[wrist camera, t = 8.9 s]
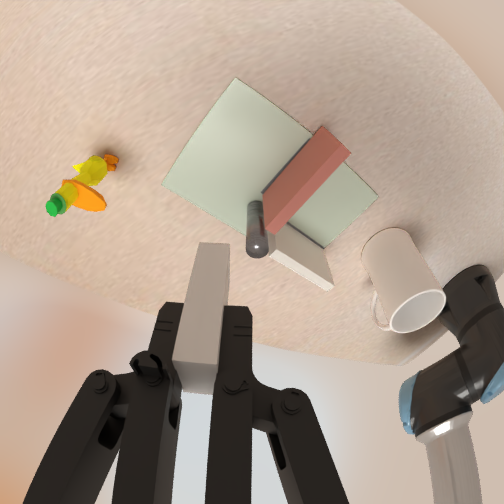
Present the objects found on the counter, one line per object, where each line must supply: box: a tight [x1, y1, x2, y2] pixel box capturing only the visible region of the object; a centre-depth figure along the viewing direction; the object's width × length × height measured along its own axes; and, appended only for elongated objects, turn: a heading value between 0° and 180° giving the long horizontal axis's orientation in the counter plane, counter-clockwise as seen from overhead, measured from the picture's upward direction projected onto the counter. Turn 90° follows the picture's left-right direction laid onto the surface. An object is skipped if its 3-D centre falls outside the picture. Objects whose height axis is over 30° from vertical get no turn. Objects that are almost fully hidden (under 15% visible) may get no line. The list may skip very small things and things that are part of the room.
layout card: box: [161, 78, 379, 249], centre depth 31 cm, size 22×15×1 cm
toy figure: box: [46, 154, 119, 217], centre depth 24 cm, size 7×4×12 cm, turn 61°
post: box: [246, 200, 269, 258], centre depth 30 cm, size 2×2×8 cm
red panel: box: [262, 126, 351, 235], centre depth 26 cm, size 10×1×7 cm, turn 144°
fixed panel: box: [267, 224, 335, 292], centre depth 33 cm, size 9×1×7 cm, turn 53°
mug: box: [361, 228, 446, 333], centre depth 34 cm, size 12×8×12 cm
